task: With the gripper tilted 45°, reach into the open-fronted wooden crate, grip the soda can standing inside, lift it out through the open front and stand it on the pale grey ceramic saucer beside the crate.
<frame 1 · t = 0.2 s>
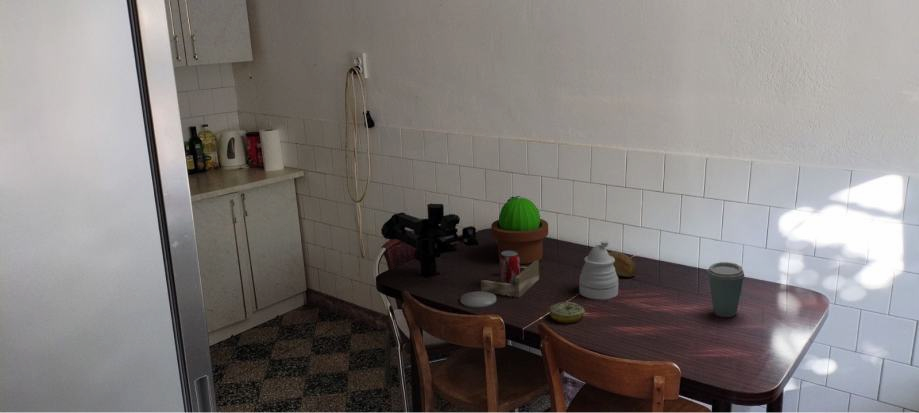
hand: (467, 246, 235), 17 cm above the table, tool horizontal, fingers open, 9 cm apart
honey pot: (598, 292, 234), on the table
potted cactus: (520, 258, 272), on the table
bread roll: (616, 274, 250), on the table
saucer: (478, 300, 232), on the table
decorated donut: (567, 318, 216), on the table
soda can: (510, 285, 244), on the table
disposable coffee cup: (723, 313, 213), on the table
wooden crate: (510, 285, 244), on the table
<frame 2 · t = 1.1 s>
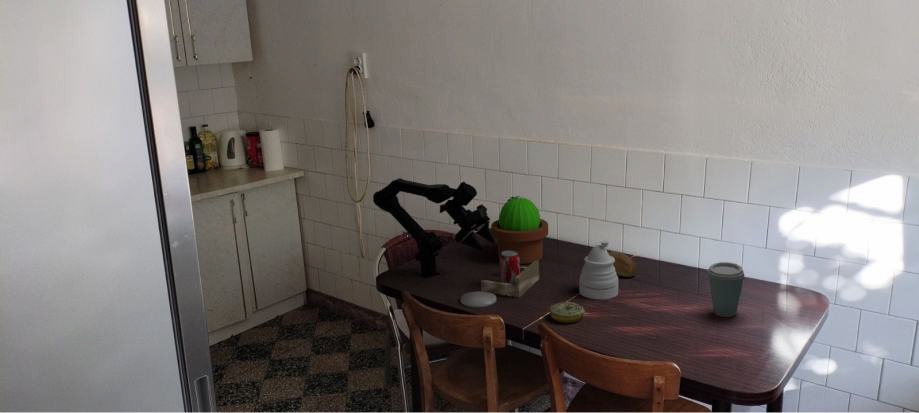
hand: (488, 246, 244), 14 cm above the table, tool tilted 45°, fingers open, 9 cm apart
nothing on the table moved.
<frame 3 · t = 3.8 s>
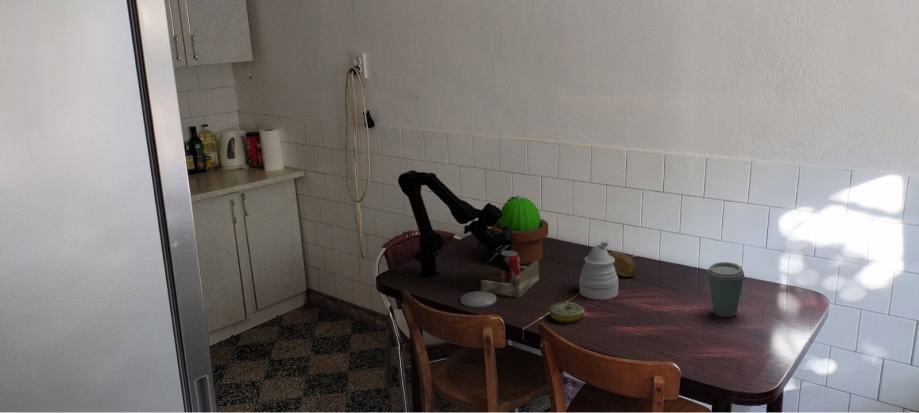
hand: (513, 268, 242), 7 cm above the table, tool tilted 45°, fingers closed on soda can, 7 cm apart
soda can: (510, 285, 244), on the table, touching gripper
everything else where it was.
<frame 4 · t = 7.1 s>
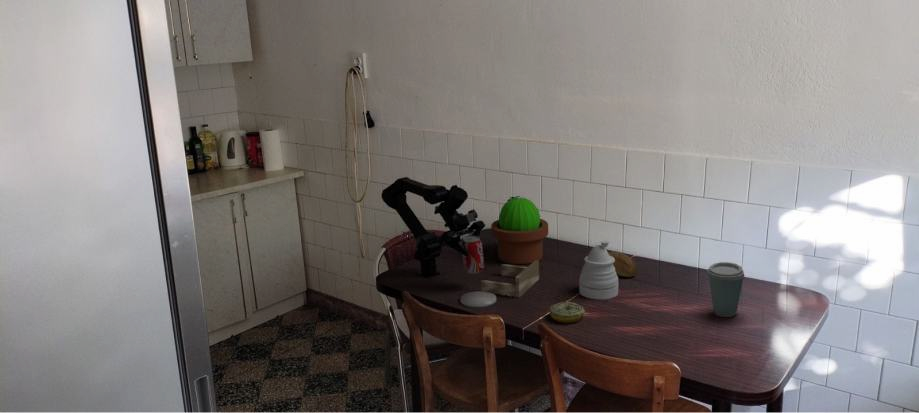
hand: (474, 253, 238), 13 cm above the table, tool tilted 45°, fingers closed on soda can, 7 cm apart
soda can: (474, 271, 242), point 6 cm above the table, touching gripper
everything else where it was.
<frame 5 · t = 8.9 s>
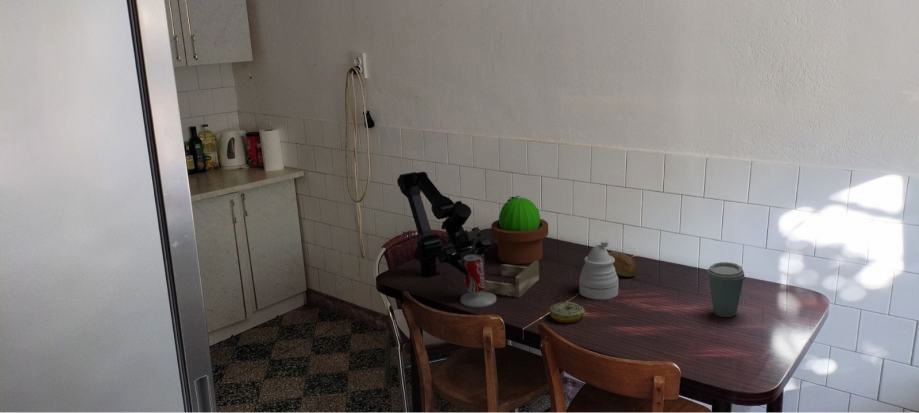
hand: (475, 272, 230), 10 cm above the table, tool tilted 45°, fingers closed on soda can, 7 cm apart
soda can: (475, 290, 234), point 3 cm above the table, touching gripper
everything else where it was.
when the fingers open (8 cm above the table, at t = 10.4 s): soda can stays where it is, resting on saucer.
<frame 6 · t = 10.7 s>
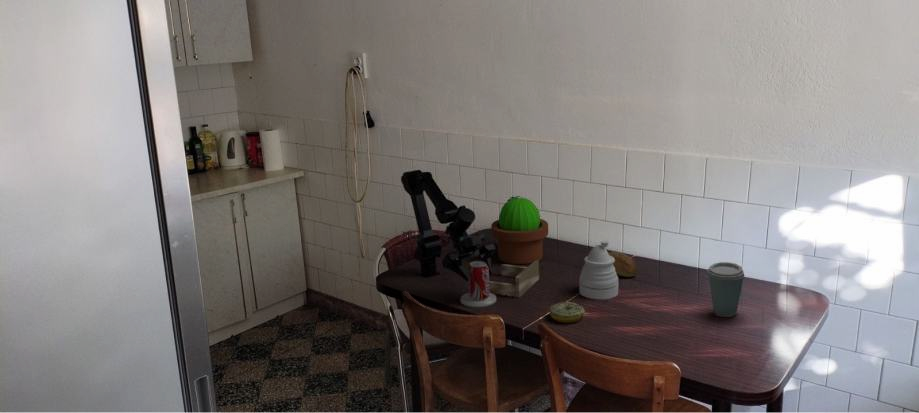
hand: (479, 277, 229), 9 cm above the table, tool tilted 45°, fingers open, 9 cm apart
soda can: (479, 298, 232), point 1 cm above the table, touching saucer
everything else where it was.
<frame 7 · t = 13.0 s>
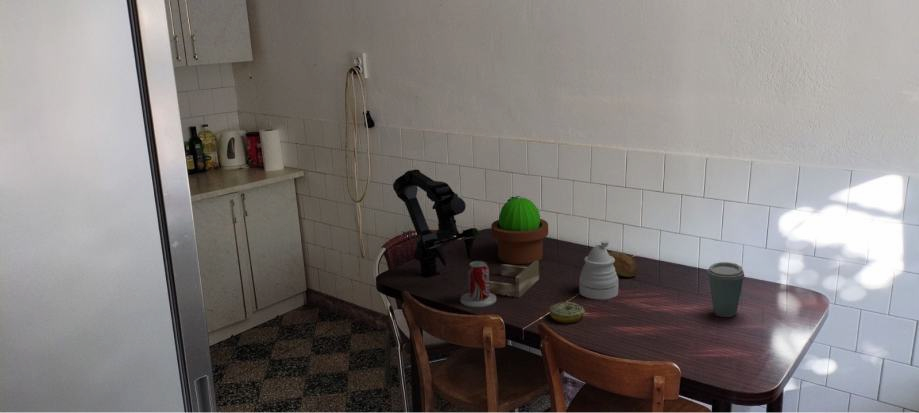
hand: (457, 262, 240), 10 cm above the table, tool tilted 20°, fingers open, 9 cm apart
nothing on the table moved.
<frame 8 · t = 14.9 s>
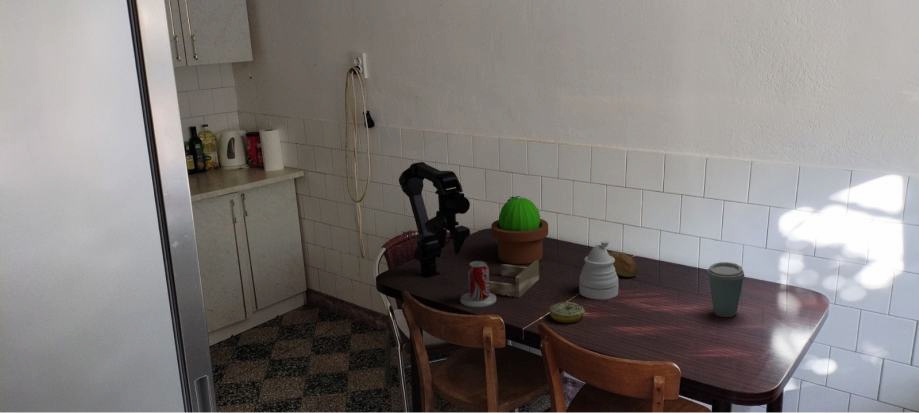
hand: (449, 251, 243), 13 cm above the table, tool pointing down, fingers open, 9 cm apart
nothing on the table moved.
at the end: soda can 0.6 cm from the saucer (horizontally); soda can tilted 0°; the gripper is holding nothing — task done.
